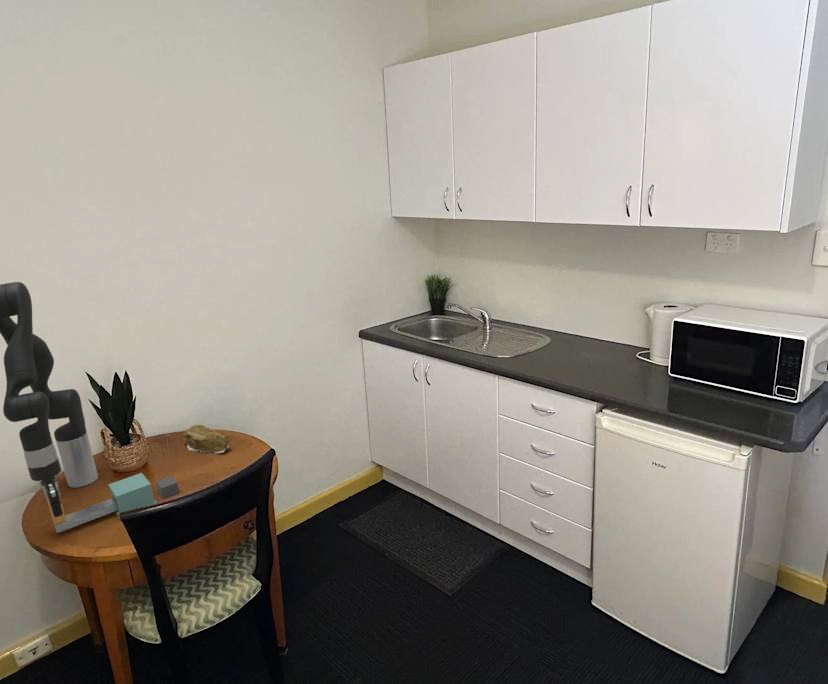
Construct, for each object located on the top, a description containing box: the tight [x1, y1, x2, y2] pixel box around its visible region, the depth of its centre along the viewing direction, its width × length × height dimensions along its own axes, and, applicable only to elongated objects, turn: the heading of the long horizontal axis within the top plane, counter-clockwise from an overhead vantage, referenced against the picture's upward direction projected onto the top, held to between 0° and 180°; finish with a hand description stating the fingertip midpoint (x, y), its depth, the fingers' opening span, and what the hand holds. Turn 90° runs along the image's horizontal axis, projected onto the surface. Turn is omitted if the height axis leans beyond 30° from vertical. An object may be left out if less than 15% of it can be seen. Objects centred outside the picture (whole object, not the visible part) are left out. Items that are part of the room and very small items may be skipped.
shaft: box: [46, 493, 118, 534], centre depth 174 cm, size 4×22×12 cm, turn 129°
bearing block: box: [108, 472, 158, 516], centre depth 182 cm, size 11×11×8 cm
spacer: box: [155, 475, 180, 500], centre depth 188 cm, size 6×4×5 cm
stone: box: [181, 424, 230, 454], centre depth 218 cm, size 22×10×7 cm, turn 60°
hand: (57, 512), depth 169 cm, fingers closed on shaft, 3 cm apart
